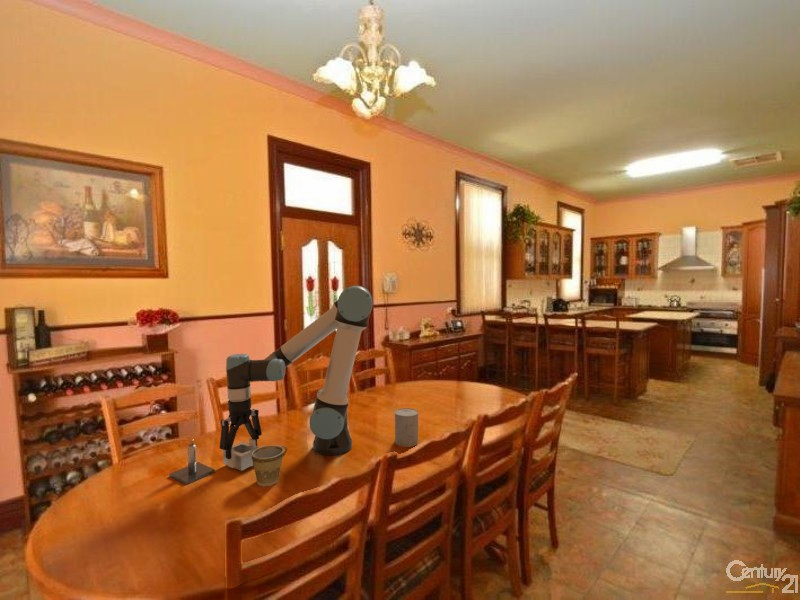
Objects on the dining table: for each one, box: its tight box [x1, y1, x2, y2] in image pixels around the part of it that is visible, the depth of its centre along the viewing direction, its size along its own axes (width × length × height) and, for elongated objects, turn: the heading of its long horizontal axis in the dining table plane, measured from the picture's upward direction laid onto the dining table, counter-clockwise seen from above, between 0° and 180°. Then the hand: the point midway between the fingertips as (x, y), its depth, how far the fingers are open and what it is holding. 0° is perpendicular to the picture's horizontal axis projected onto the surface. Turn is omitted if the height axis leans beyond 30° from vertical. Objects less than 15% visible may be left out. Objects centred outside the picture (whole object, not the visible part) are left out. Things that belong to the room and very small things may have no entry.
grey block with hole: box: [222, 441, 259, 472], centre depth 141 cm, size 10×8×5 cm
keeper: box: [168, 438, 216, 486], centre depth 135 cm, size 10×10×12 cm
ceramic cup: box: [251, 444, 288, 487], centre depth 132 cm, size 13×10×10 cm
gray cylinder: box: [394, 407, 419, 448], centre depth 162 cm, size 10×10×12 cm
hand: (242, 461), depth 142 cm, fingers closed on grey block with hole, 8 cm apart
